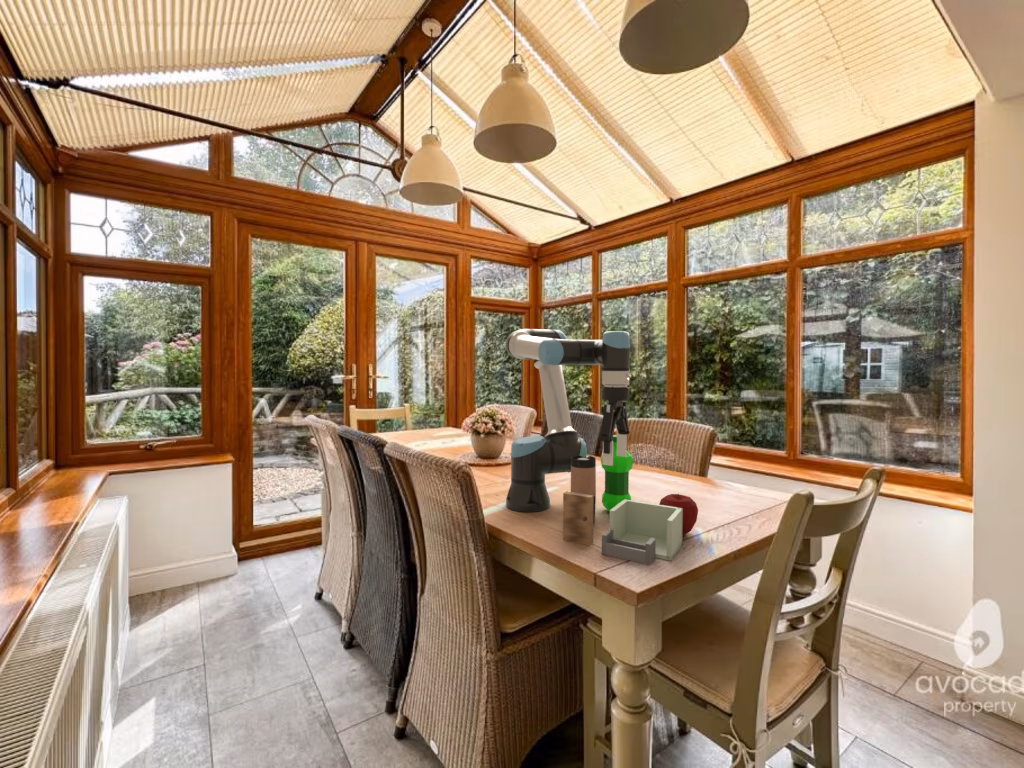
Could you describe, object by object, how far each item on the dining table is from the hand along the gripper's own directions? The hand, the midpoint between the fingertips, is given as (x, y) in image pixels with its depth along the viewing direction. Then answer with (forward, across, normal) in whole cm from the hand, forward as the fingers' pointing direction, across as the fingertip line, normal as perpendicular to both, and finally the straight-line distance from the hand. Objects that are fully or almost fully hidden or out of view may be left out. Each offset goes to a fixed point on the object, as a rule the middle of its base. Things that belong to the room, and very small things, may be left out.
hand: (614, 460), depth 134 cm
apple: (+21, +8, -16) cm, 28 cm away
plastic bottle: (+21, +20, +5) cm, 30 cm away
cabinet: (+21, -8, -10) cm, 25 cm away
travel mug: (+21, +5, +11) cm, 25 cm away
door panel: (+21, -10, +7) cm, 25 cm away
